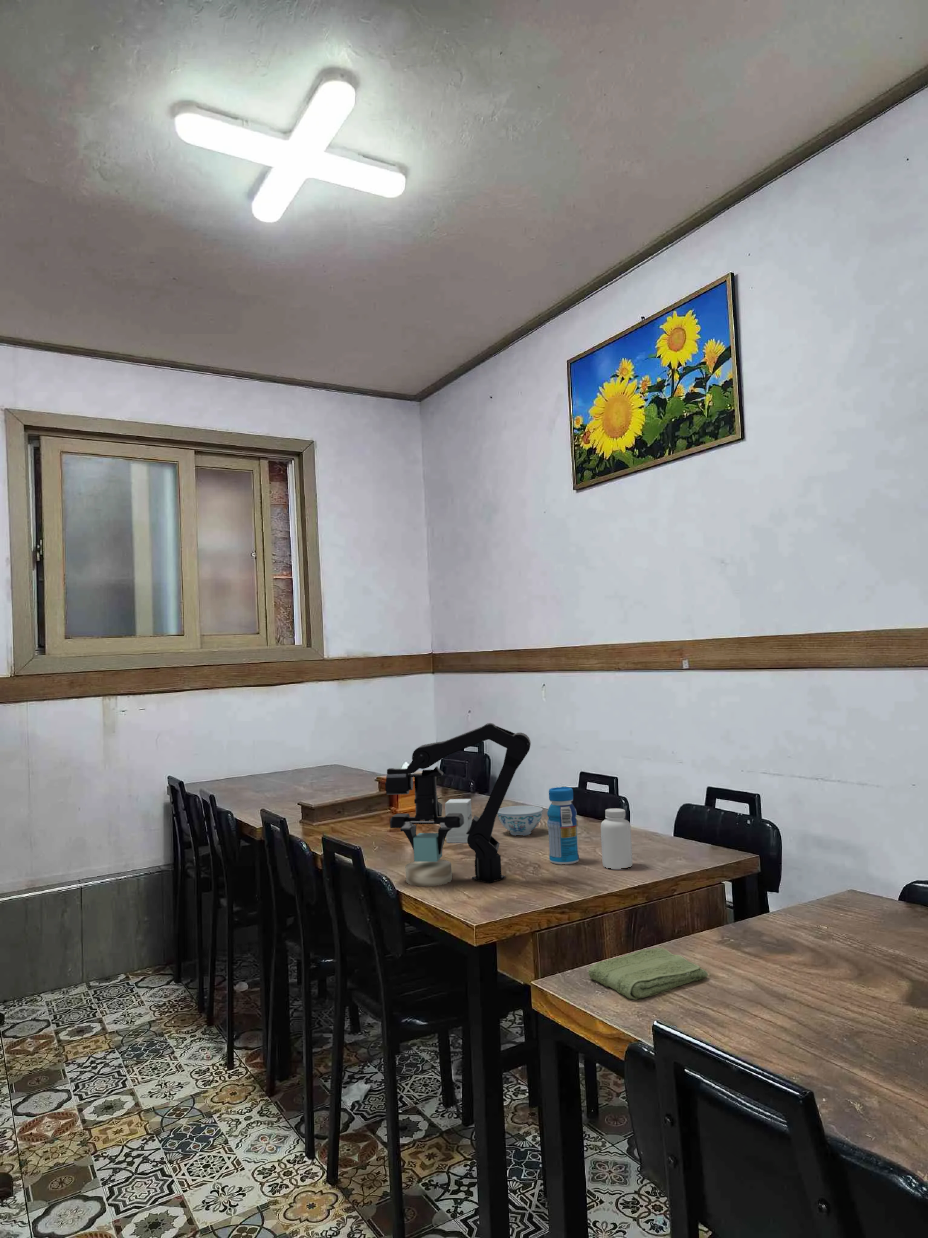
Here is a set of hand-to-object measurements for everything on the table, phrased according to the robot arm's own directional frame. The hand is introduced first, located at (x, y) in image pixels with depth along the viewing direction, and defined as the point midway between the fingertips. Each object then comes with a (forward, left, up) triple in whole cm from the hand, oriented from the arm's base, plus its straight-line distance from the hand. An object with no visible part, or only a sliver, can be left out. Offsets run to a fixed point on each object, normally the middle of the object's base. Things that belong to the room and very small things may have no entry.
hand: (428, 854), depth 211 cm
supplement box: (+28, -38, -7) cm, 48 cm away
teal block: (0, 0, -1) cm, 1 cm away
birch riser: (0, 0, -7) cm, 7 cm away
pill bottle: (-31, -40, -7) cm, 51 cm away
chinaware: (+19, -57, -7) cm, 61 cm away
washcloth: (-79, +20, -7) cm, 82 cm away
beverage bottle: (-16, -36, -7) cm, 40 cm away
